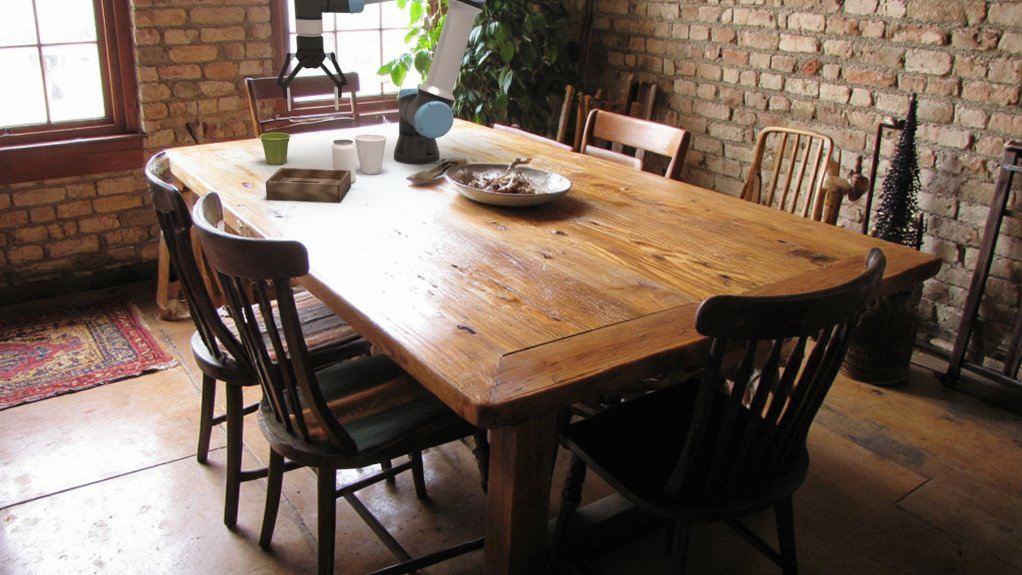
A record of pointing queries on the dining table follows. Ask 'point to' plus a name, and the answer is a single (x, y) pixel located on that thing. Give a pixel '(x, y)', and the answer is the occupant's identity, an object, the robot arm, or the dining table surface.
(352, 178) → the can
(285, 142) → the plant pot
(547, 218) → the dining table surface
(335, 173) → the walled box
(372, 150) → the cup
